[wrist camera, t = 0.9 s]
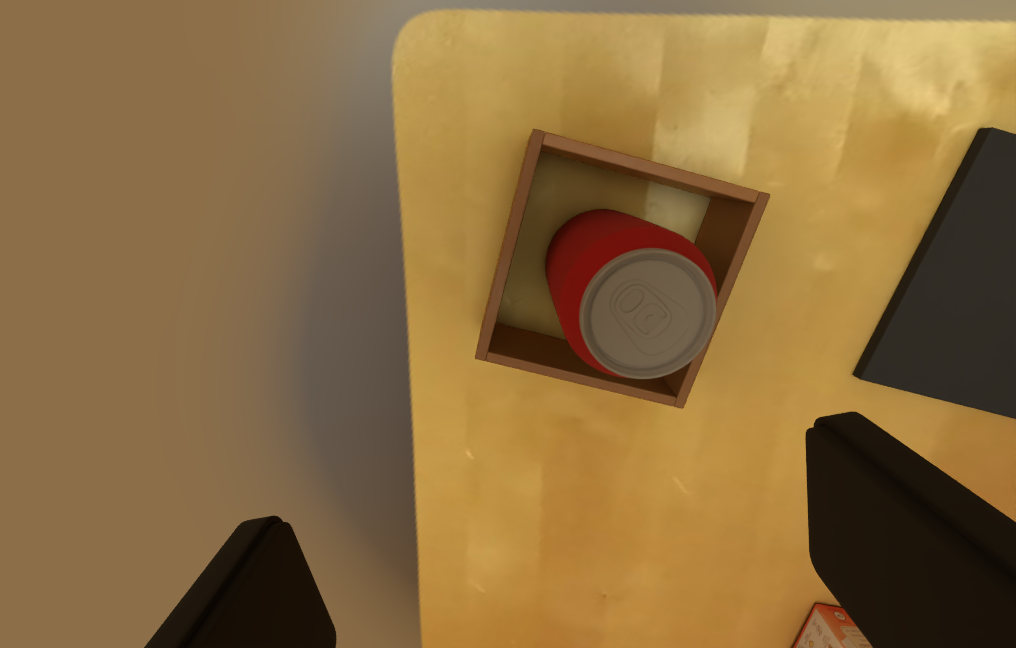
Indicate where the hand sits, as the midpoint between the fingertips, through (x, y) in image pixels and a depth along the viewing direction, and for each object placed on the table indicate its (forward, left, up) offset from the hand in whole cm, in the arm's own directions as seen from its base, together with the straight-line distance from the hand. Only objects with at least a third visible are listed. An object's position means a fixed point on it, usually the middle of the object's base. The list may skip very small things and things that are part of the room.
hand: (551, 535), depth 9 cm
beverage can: (-2, +4, -23) cm, 24 cm away
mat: (-7, +31, -23) cm, 40 cm away
